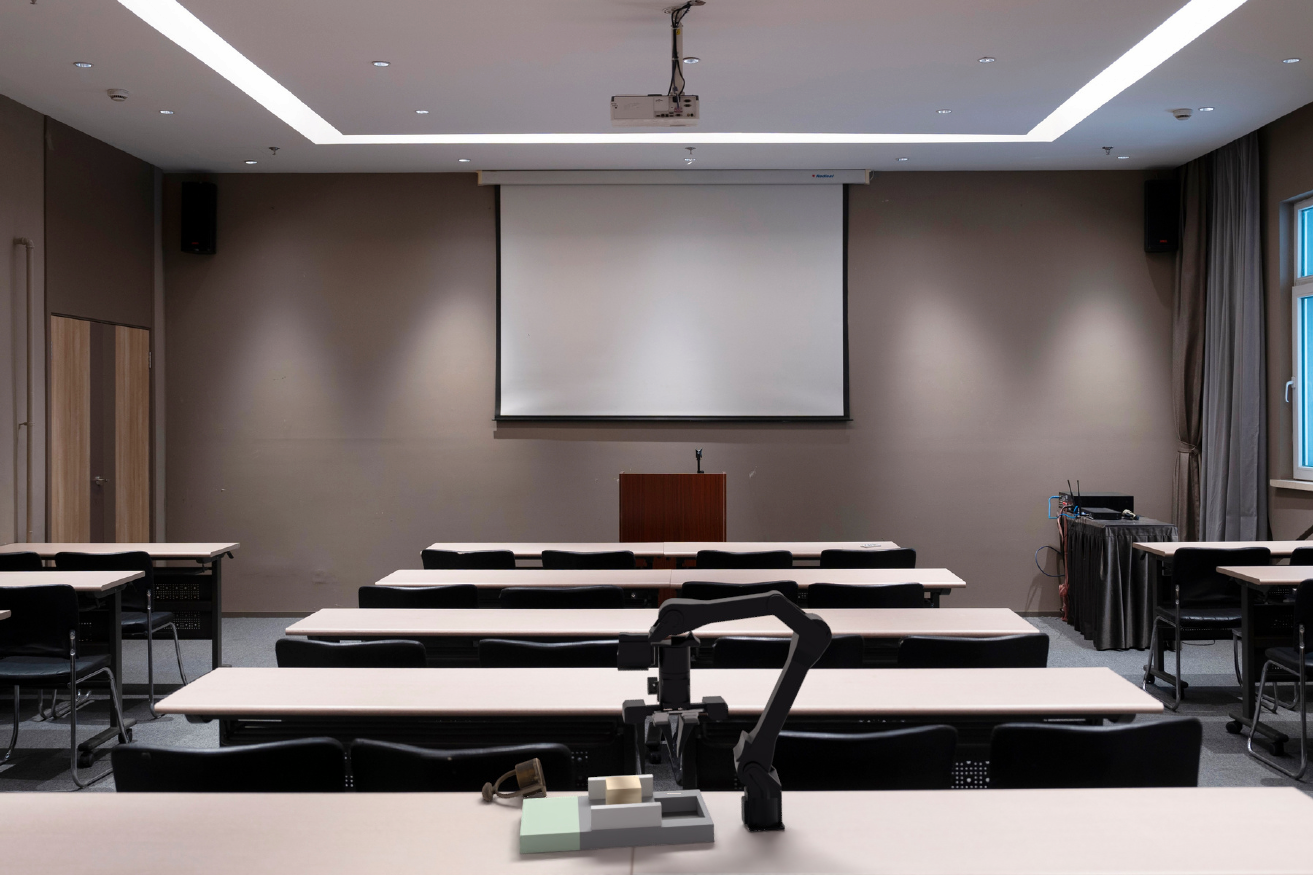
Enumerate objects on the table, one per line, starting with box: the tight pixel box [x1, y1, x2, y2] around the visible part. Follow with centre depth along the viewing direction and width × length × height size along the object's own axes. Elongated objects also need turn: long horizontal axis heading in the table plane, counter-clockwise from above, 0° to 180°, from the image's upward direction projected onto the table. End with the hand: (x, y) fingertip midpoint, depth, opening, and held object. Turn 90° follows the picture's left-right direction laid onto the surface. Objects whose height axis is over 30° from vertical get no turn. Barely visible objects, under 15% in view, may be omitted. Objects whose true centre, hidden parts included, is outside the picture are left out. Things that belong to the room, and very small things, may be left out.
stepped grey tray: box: [519, 773, 715, 855], centre depth 159 cm, size 33×16×6 cm, turn 96°
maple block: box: [604, 775, 642, 805], centre depth 159 cm, size 6×6×5 cm
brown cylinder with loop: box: [481, 757, 548, 803], centre depth 175 cm, size 7×13×10 cm
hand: (675, 757), depth 161 cm, fingers closed
